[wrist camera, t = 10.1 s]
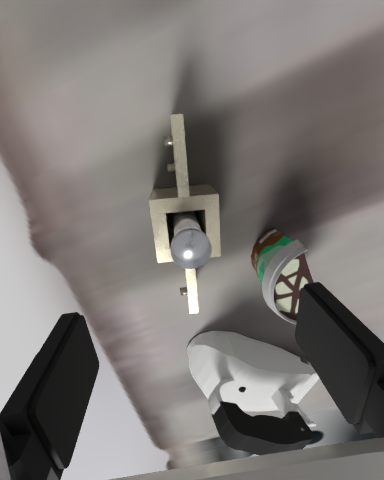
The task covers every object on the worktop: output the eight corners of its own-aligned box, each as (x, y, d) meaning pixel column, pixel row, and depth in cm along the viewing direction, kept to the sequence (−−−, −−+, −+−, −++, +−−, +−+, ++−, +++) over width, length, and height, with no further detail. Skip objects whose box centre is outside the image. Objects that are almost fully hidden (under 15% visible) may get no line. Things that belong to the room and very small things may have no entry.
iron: (280, 393, 50) (323, 488, 36) (175, 364, 45) (178, 463, 31) (310, 356, 47) (370, 445, 33) (201, 320, 41) (217, 409, 28)
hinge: (144, 123, 29) (136, 117, 23) (205, 118, 30) (216, 111, 23) (166, 287, 38) (165, 316, 32) (213, 282, 39) (222, 310, 32)
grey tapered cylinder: (168, 201, 33) (168, 233, 21) (195, 198, 33) (210, 229, 21) (171, 227, 34) (172, 271, 23) (197, 224, 35) (212, 266, 23)
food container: (232, 236, 36) (254, 268, 27) (270, 219, 35) (306, 245, 26) (258, 297, 40) (284, 343, 31) (292, 283, 40) (329, 324, 31)
